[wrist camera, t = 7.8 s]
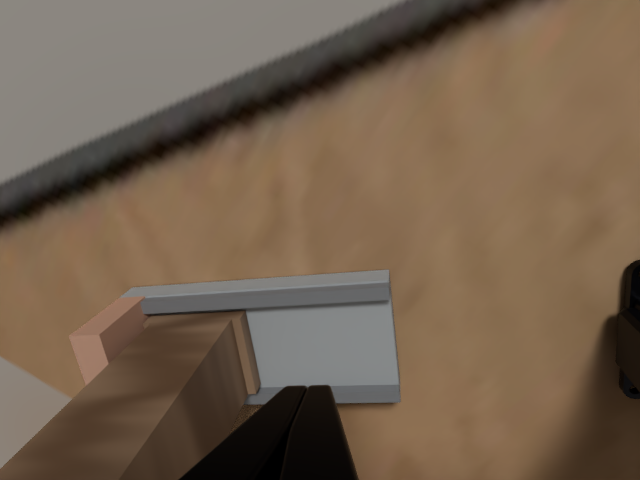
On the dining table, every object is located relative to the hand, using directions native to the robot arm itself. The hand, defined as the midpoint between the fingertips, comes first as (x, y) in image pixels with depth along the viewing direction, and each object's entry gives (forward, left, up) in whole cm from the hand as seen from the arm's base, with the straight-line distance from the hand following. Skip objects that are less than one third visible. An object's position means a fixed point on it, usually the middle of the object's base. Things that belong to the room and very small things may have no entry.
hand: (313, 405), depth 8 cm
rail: (+5, +5, -12) cm, 15 cm away
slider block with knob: (+8, +6, -11) cm, 15 cm away
